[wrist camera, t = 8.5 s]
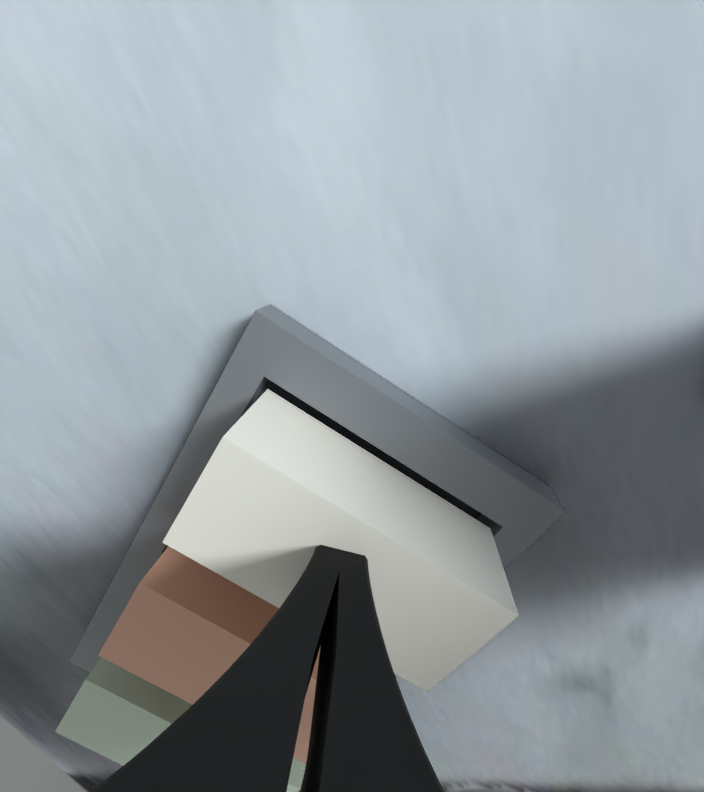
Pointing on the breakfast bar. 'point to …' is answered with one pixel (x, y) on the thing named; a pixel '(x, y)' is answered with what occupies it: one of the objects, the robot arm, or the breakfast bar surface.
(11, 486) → the breakfast bar surface
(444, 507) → the ivory key
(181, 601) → the terracotta key
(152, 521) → the keypad plinth
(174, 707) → the sage key
